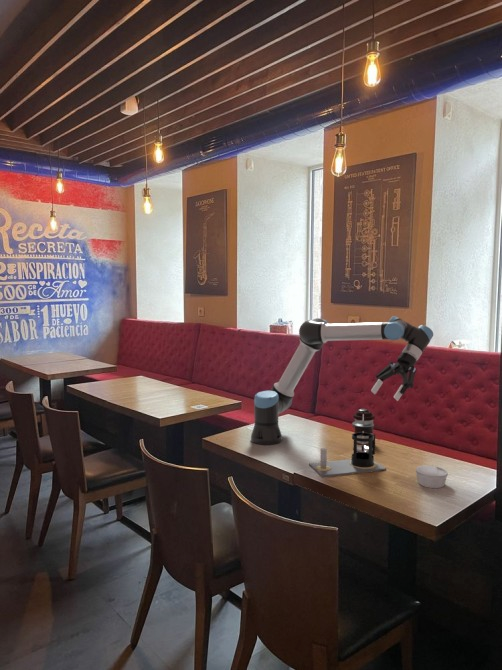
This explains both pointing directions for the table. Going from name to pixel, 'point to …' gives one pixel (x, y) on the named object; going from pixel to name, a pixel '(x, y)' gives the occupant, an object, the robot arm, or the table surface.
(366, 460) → the french press
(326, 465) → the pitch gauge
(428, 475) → the ramekin
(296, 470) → the table surface
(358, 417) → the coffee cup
